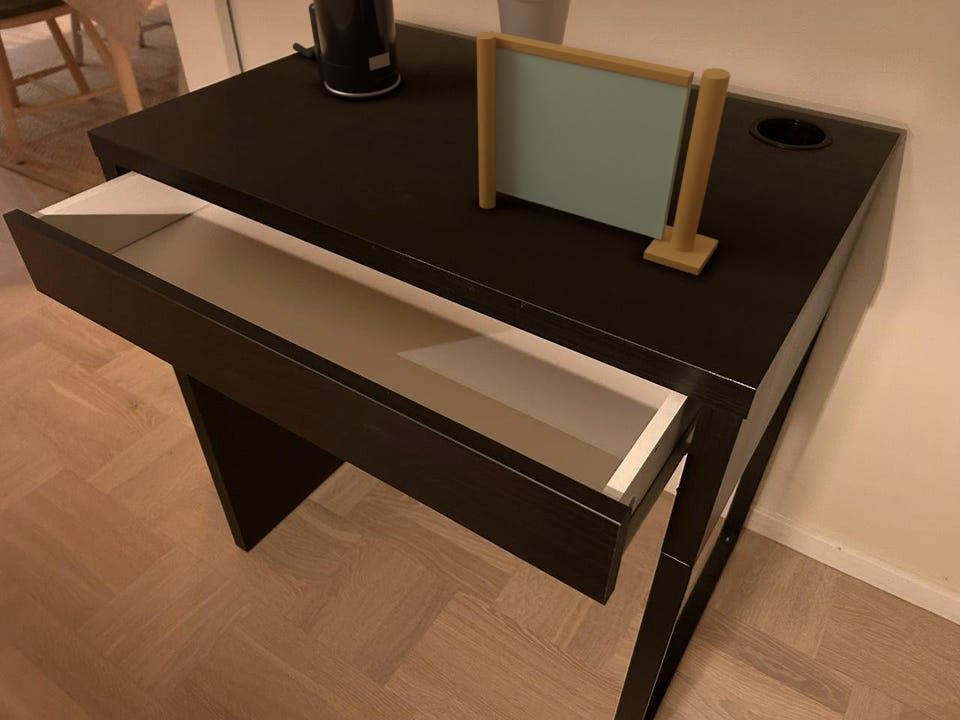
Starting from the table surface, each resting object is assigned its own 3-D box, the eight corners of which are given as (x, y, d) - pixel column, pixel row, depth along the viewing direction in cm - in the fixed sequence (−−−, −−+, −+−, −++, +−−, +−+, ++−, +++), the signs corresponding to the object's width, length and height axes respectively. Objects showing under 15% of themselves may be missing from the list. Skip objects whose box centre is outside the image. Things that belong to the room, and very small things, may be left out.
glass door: (665, 234, 67) (694, 71, 57) (660, 241, 66) (689, 76, 56) (491, 183, 74) (491, 30, 64) (485, 189, 73) (483, 35, 63)
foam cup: (532, 58, 100) (536, -50, 91) (583, 78, 95) (592, -34, 86) (478, 77, 96) (477, -34, 87) (528, 99, 90) (532, -16, 82)
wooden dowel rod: (498, 203, 73) (499, 34, 62) (490, 210, 72) (489, 40, 61) (484, 198, 73) (482, 30, 63) (476, 206, 72) (472, 36, 62)
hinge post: (717, 247, 67) (759, 68, 56) (697, 276, 64) (739, 92, 53) (664, 231, 69) (695, 56, 58) (642, 259, 66) (672, 78, 55)
